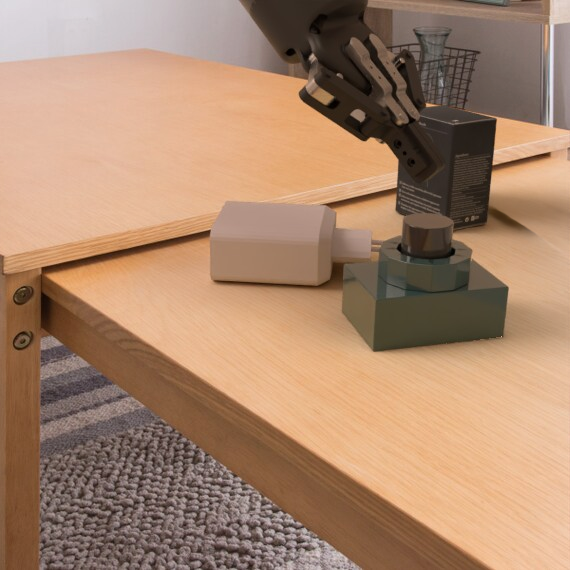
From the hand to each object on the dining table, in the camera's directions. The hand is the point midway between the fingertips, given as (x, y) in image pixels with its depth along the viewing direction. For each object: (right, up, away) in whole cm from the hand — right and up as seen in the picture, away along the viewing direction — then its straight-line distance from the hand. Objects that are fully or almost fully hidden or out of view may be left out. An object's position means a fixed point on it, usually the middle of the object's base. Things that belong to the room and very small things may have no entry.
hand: (433, 174), depth 64 cm
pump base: (0, -11, +4) cm, 11 cm away
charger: (-8, -7, +15) cm, 18 cm away
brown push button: (0, -5, +2) cm, 6 cm away
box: (+5, -1, +28) cm, 29 cm away
